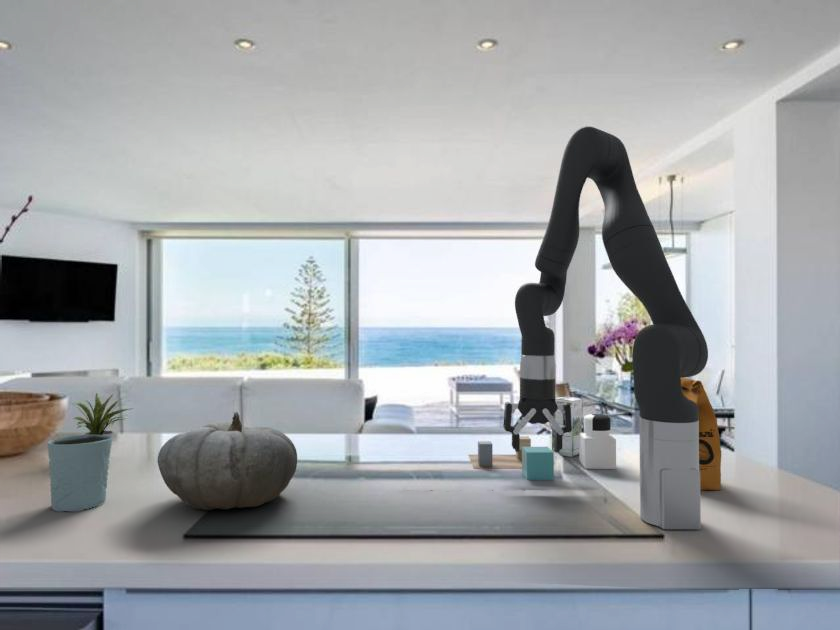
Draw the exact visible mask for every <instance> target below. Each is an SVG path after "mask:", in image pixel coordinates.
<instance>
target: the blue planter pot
mask: <svg viewBox="0 0 840 630" xmlns="http://www.w3.org/2000/svg"><path fill="white" fill-rule="evenodd" d="M111 443H112V444H113V440H112V437H111V436H108V435H82V434H80V435H71V436H64V437H59V438H55V439H50V440H48V441H47V453H48V459H49V462H48V466H49V467H48V468H49V475H50V478H49V479H50V484H49V485H50V497H51V498H50V507H51V509H53V510H52V511H54V510H56V511H55V512H57V511H75V512H78V511H77V510H82V511H85V510H84V509H87V510H90V509H89V508H91V509H93V508H92V507H95V506H98V505H100V504H102V503H103V504H105V502H106V500H107V488H108V475H109V468H110V466H109V465H110V456H111V449H112V446H111ZM103 504H102V505H103ZM100 506H101V505H100ZM98 507H99V506H98ZM95 508H96V507H95Z"/></svg>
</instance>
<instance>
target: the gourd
mask: <svg viewBox="0 0 840 630" xmlns="http://www.w3.org/2000/svg"><path fill="white" fill-rule="evenodd" d="M231 418H232V421H231V422H230V421H227V420H226V421H225V420H222V421H221V420H219V421H217V420H216V421H213V422H210V423H207V424H205V425H203V426H201V427H197V428H193V429H190V430H189V431H185V432H181V433H177V434H176V435H173V436H172V437H171V438H169V439H167V441H166V442H165V443H164V444H163V445H162V446H161V448H160V449H159V451H158V455H157V465H158V469H159V472H160V475H161V477H162V479H163V482H164V484H165V485H166V487H167V489H169V490H170V492H172V493H173V494H174V495H175V496H177V498H179V499H180V500H182V502H184V503H186V504H187V505H189V506H191V507H192V508H194V509H197V510H205V511H206V510H207V511H212V510H214V509H215V510H216V509H220V510H221V509H222V510H230V509H233V508H238V509H242V508H255V507H256V508H257V507H259V506H261V505H263V504H265V503H268V502H271V501H273V500H274V499H276V498H277V497H278V496H279V495H280V494H282V493H283V492H284V491H285V489H286V488H287V487H288V486H289V484H290V483H291V480H292V478H293V477H294V475H295V474H296V470H297V467H298V466H297V465H298V451H297V448H296V447H295V444H294V443H293V441H292V440H291V438H289V437H288V436H287V435H286V434H285V433H284V432H282V431H280V430H278V429H275V428H273V427H265V426H257V427H256V426H255V427H251V428H250V427H248V426H244V425H242V422H241V420H240V415H239V412H238V411H235V412H233V416H232V417H231Z"/></svg>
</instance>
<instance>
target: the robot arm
mask: <svg viewBox="0 0 840 630" xmlns="http://www.w3.org/2000/svg"><path fill="white" fill-rule="evenodd" d="M587 179H590V180H592V181H593V182H594V184H595V186H596V188H597V189H598V191H599V194H600V196H601V199H602V202H603V206H604V215H603V221H602V227H601V230H602V231H601V239H602V243H603V246H604V249H605V252H606V255H607V258H608V260H609V263H610V265H611V267H612V269H613V271H614V273H615V275H616V276H617V277H618V279H619V280H620V281H621V282H622V283H623V284H624V285H625V287H626V288H628V290H629V291H630V292H631V293H632V294H633V295H634V296H635V297H636V298H637V300H639V301H640V303H641V304H642V306H643V307H644V308H645V310H646V311H647V314H648V316H649V318H650V320H651V322H652V324H649V325H645V327H643V328H641V329H640V330H639V331H638V333H637V334H636V336H635V338H634V341H633V343H632V352H631V353H632V355H631V356H632V357H631V358H632V373H633V374H632V376H633V379H632V380H633V392H634V398H635V401H636V403H637V406H638V410H639V411H638V412H639V504H640V506H639V507H640V509H639V510H640V511H639V514H640V519H641V520H642V521H644V522H645V523H647V524H651V525H653V526H657V527H659V528H661V529H662V530H701V529H702V528H701V527H702V524H701V522H702V519H701V509H702V508H701V507H702V506H701V490H700V471H699V409H698V405H697V404H696V403H695V402H694V401H692V400H689V399H688V398H687V397H685V395H684V394H683V392H682V386H681V378H691V377H694V376H697V375H699V374H701V373H702V372H703V370H704V369H705V367H706V366H707V363H708V360H709V349H708V344H707V341H706V337H705V336H704V333H703V332H702V330H701V327H700V326H699V324H698V322H697V320H696V319H695V316H694V315H693V313H692V311H691V310H690V307H689V305H688V304H687V303H686V301H685V299H684V297H683V295H682V292H681V290H680V288H679V286H678V284H677V280H676V279H675V276H674V274H673V271H672V270H671V267H670V265H669V263H668V260H667V258H666V255H665V253H664V250H663V246H662V244H661V242H660V239H659V237H658V235H657V232H656V230H655V227H654V225H653V223H652V221H651V219H650V216H649V213H648V211H647V209H646V207H645V204H644V201H643V199H642V197H641V195H640V192H639V190H638V187H637V184H636V181H635V178H634V173H633V169H632V167H631V162H630V158H629V155H628V151H627V149H626V146H625V144H624V143H623V141H621V139H620V138H618V137H617V136H615V135H614V134H612V133H610V132H606V131H605V130H602V129H599V128H596V127H595V126H594V127H593V126H588V125H586V126H581V127H580V128H578V129H577V130H575V131H574V132H573V133H572V134H571V135H570V137H569V139H568V141H567V142H566V145H565V148H564V150H563V155H562V159H561V164H560V169H559V173H558V179H557V183H556V188H555V193H554V197H553V201H552V202H553V203H552V208H551V213H550V217H549V219H548V220H549V221H548V224H547V227H546V229H545V230H546V231H545V232H544V236H543V238H542V242H541V244H540V246H539V249H538V251H537V255H536V257H535V261H534V267H535V268H536V270H538V271H539V272H540V278H539V282H526V283H524V284H522V285H521V286H520V287H519V288H518V290H517V292H516V295H515V297H514V309H515V314H516V318H517V324H518V327H519V331H520V335H521V341H520V342H521V346H520V347H521V349H520V350H521V355H520V363H519V371H518V373H519V401H518V403H513V402H512V403H511V402H509V401H506V402H505V403H504V411H503V412H504V413H503V422H502V423H503V425H502V427H503V429H504V430H505V432H509V433H511V447H512V449H513V450H514V451H515V453H516V452H519V451H520V434H519V433H520V432H521V431H522V430H523V429H524V427H526V425H527V424H528V423H529V424H531V425H534V424H541V425H546V424H549V425H550V427H551V428H552V427H553V429H554V430H555V433H554V451H553V452H555V453H558V452H560V450H562V439H563V434H564V433H567V432H571V431H572V423H571V406H570V405H569V404H568V403H563V404H556V401H555V398H556V387H557V386H556V382H557V381H556V379H557V378H556V377H557V376H556V370H557V369H556V368H557V365H556V359H555V352H556V349H555V345H556V344H555V342H556V341H555V339H556V338H555V332H554V331H553V329H551V328H550V327H548V326H546V323H545V317H548V316H552V315H554V314H555V313H556V312H558V310H559V309H560V307H561V305H562V303H563V300H564V298H565V297H564V296H565V292H566V291H565V290H566V284H567V276H568V275H567V274H568V269H570V265H571V262H572V261H573V257H574V254H575V252H576V250H577V246H578V243H579V238H580V202H581V201H580V199H581V195H582V191H583V188H584V186H585V184H586V181H587ZM557 409H559V410H560V413H562V414H563V426H561V427H560V426H559V425H558V423H557V422H556V420H555V419H554V418H553V415H554V414H555V412H556V411H557ZM516 410H518V411H519V413H520V414H521V415H520V416H519V417H518V419H517V420H516V422H515V423H514V425H512V414H514V413H515V412H516Z"/></svg>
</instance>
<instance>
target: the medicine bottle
mask: <svg viewBox="0 0 840 630" xmlns="http://www.w3.org/2000/svg"><path fill="white" fill-rule="evenodd" d="M611 427H612V426H611V417H610V416H608V415H606V414H601V413H600V414H599V413H591V414H590V413H589V414H587V415H584V417H583V432H582V433H580V434H579V454H578V456H579V462H580V464H581V465H582V466H583V468H584V469H585V470H588V469H589V470H616V469H617V439H616V438H615V437H614V436H613V435H611V434H610V433H611Z"/></svg>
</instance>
